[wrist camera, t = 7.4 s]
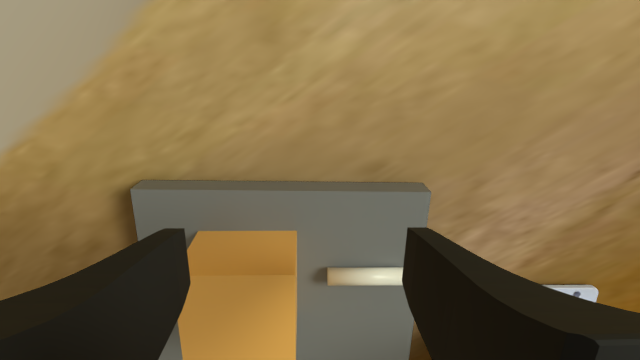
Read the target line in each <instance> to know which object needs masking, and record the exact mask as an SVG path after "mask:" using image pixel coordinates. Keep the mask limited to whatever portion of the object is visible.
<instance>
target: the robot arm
mask: <svg viewBox="0 0 640 360" xmlns="http://www.w3.org/2000/svg"><path fill="white" fill-rule="evenodd" d="M190 284H191V281H190V272H189V264H188V255H187V246H186V237H185V229H184V228H165V229H162V230H160V231H157V232H155V233H153V234H151V235H149V236H147V237H145V238H144V239H142V240H140V241H138V242H136V243H134V244H132V245H131V246H129V247H127V248H125V249H123V250H121V251H119V252H118V253H116V254H114V255H112V256H110V257H108V258H106V259H104V260H102V261H100V262H98V263H96V264H94V265H91V266H89V267H87V268H85V269H83V270H81V271H79V272H77V273H75V274H72V275H70V276H68V277H65V278H63V279H60V280H58V281H55V282H53V283H50V284H48V285H45V286H43V287H40V288H37V289H34V290H31V291H28V292H26V293H23V294H20V295H17V296H14V297H11V298H8V299H5V300H2V301H0V360H158V359H159V357H160V355H161V353H162V351H163V349H164V347H165V345H166V343H167V341H168V339H169V337H170V335H171V333H172V331H173V329H174V327H175V324H176V322H177V320H178V318H179V316H180V314H181V312H182V309H183V306H184V303H185V300H186V297H187V294H188V291H189V287H190ZM402 284H403V288H404V291H405V295H406V299H407V302H408V305H409V308H410V311H411V313H412V315H413V318H414V320H415V322H416V324H417V327H418V329H419V331H420V333H421V336H422V338H423V340H424V342H425V345H426V347H427V349H428V351H429V354H430V356H431V358H432V360H640V313H636V312H631V311H627V310H623V309H619V308H615V307H611V306H607V305H603V304H600V303H596V299H597V296H598V290H597V289H596V288H595V287H594V286H592V285H540V284H537V283H535V282H532V281H530V280H528V279H525V278H523V277H520V276H518V275H516V274H513V273H511V272H509V271H507V270H504V269H502V268H500V267H498V266H496V265H494V264H492V263H490V262H488V261H486V260H484V259H483V258H481V257H479V256H477V255H475V254H473V253H472V252H470V251H468V250H466V249H464V248H463V247H461V246H459V245H457V244H456V243H454V242H452V241H451V240H449V239H447V238H445V237H444V236H442V235H440V234H438V233H437V232H435V231H433V230H431V229H429V228H426V227H407V237H406V246H405V255H404V265H403V274H402ZM574 292H575V293H574ZM573 293H574V294H573Z"/></svg>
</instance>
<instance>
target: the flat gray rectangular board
mask: <svg viewBox="0 0 640 360" xmlns="http://www.w3.org/2000/svg"><path fill="white" fill-rule="evenodd" d="M130 192H131V198H132V205H133V211H134V218H135V224H136V231H137V237H138V241H140V240H142V239H144V238H145V237H147V236H149V235H151V234H153V233H155V232H157V231H160V230H162V229H165V228H184V229H185V237H186V246H187V249H188V248H189V246H190V244H191V242H192V241H193V239H194V237H195V236H196V234H197V232H198V231H297V334H296V360H409V354H410V346H411V339H412V331H413V324H414V318H413V315H412V313H411V311H410V308H409V305H408V302H407V299H406V295H405V291H404V288H403V284H402V274H403V265H404V255H405V246H406V237H407V227H427V220H428V212H429V205H430V197H431V191H430V190H429V189H428V188H427V187H426V186H425V185H424V184H423V183H385V182H288V181H191V180H141V181H140V182H139V183H138V184H136V185H135V186H134V187H133V188H131V189H130ZM158 360H183V357H182V350H181V342H180V335H179V327H178V320H177V322H176V324H175V327H174V329H173V331H172V333H171V335H170V337H169V339H168V341H167V343H166V345H165V347H164V349H163V351H162V353H161V355H160V357H159V359H158Z"/></svg>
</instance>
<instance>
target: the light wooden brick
mask: <svg viewBox="0 0 640 360" xmlns="http://www.w3.org/2000/svg"><path fill="white" fill-rule="evenodd" d="M187 255H188V264H189V272H190V281H191V284H190V287H189V291H188V294H187V297H186V300H185V303H184V306H183V309H182V312H181V314H180V316H179V318H178V327H179V335H180V342H181V350H182V357H183V360H296V334H297V231H198V232H197V234H196V236H195V237H194V239H193V241H192V242H191V244H190V246H189V248H188V249H187Z"/></svg>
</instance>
